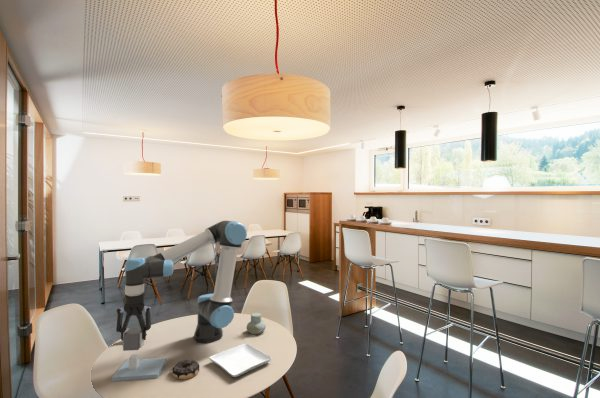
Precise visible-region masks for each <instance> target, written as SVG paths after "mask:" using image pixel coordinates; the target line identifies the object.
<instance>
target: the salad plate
mask: <svg viewBox="0 0 600 398" xmlns="http://www.w3.org/2000/svg"><path fill="white" fill-rule="evenodd" d="M208 359H210V362H212V363H213V364H215V365H217V366H218V367H219V368H221V369H222V370H224V371H225V372H226V373H227V374H229V376H230V377H232V378H237V377H240V376H242V375H244V374H245V373H248V372H250V371H253V370H254V369H256V368H258V367H261V366H263V365H266V364H267V363H268V362H270V361H271V360H272V356H271V355H268V353H265V352H263V351H262V350H260V349H258V348H256V347H254V346H253V345H251V344H249V343H243V344H240V345H237V346H234V347H231V348H228V349H226V350H223V351H221V352H218V353H216V354H214V355H211V356H209V357H208Z"/></svg>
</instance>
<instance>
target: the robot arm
mask: <svg viewBox="0 0 600 398" xmlns="http://www.w3.org/2000/svg"><path fill="white" fill-rule="evenodd" d="M204 229H205V230H204V231H203V232H200V233H198V234H197V235H195V236H192V237H190V238H188V239H185V240H184V241H181V242H180V243H178V244H175V245H174V246H171V247H170V248H166V249H165V250H163V251H161V252H159V253H156V254H154V255H149V256H147V257H145V258H144V257H132V258H128V259H127V260H126V262H125V268H124V269H125V270H124V272H125V275H124V276H125V279H124V281H125V282H124V305H123V307H121V306H120V307H118V308H117V309H116V313H117V319H116V330H115V331H116V333H120V341H122V340H123V337H124V333H125V332H126V330H127V329H126V328H128V325H129V322H130V319H131V317H132V316H136V318H137V321H138V324H139V328H141V330H142V331H141V332H140V348H139V349H142V348H143V346H144V343H145V342H144V341H145V340H144V339H145V338H146V339H147V335H146V334H147V331H149V330H150V329H151V328H152V322H151V321H152V320H151V319H152V318H151V310H152V306H151V305H149V306H147V305H145V281H146V280H148V279H156V278H166V277H170V276H173V274H174V263H175V262H178V261H180V260H182V259H183V258H186V257H188V256H190V255H192V254H193V253H196V252H197V251H199V250H201V249H204V248H206V247H207V246H210V245H215V244H218V246H219V248H220V249H221V250H220V255H219V260H218V265H217V267H218V268H217V271H216V272H217V273H216V276H215V277H216V279H215V284H214V290H213V293H207V294H202V295H200V296H198V298H197V303H196V304H197V324H196V327H195V330H194V333H193V340H194V341H195V342H197V343H202V344H206V343H213V342H216V341H219V340H220V339H222V337H223V334H224V333H223V328H225V327H227V326H229V325H230V324H231V323H232V321H233V320H234V316H235V312H234V309H233V307H232V306H233V298H232V297H231V294H232V287H233V283H234V282H233V281H234V275H235V270H236V264H237V263H236V262H237V256H238V251H239V250H241V248H242V245H243V244H242V243H244V242H245V241H246V239H247V237H248V232H247V229H246V227H245V225H244V224H243V223H242V222H239V221H235V220H234V221H233V220H221V221H219V222H216V223H215V224H213V225H211V226H208V227H206V228H204ZM143 310H144V312H145V315H144V314H143ZM124 311H125V313H126V315H125V318H124V319H123V317H124ZM143 315H144V316H145V319H144V316H143ZM123 320H124V321H123Z"/></svg>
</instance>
